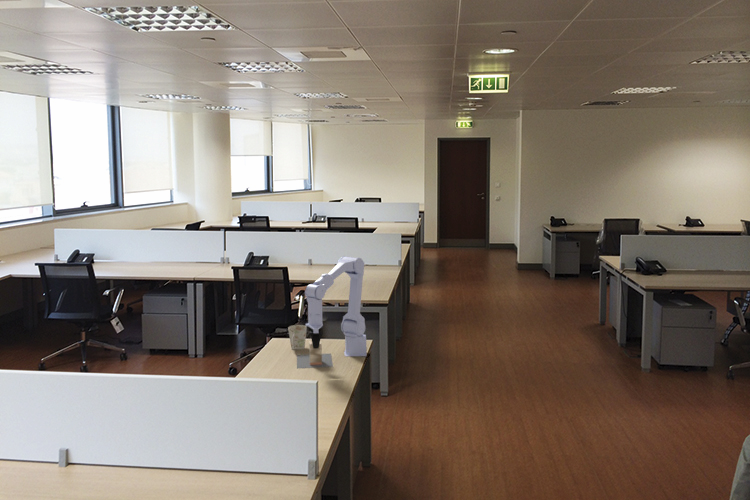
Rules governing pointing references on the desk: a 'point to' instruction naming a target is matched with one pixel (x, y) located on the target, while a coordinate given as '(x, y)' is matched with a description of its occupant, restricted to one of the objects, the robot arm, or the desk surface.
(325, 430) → the desk surface
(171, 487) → the desk surface
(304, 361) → the mat
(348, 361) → the desk surface
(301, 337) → the mug
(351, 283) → the robot arm
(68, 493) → the desk surface
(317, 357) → the block
